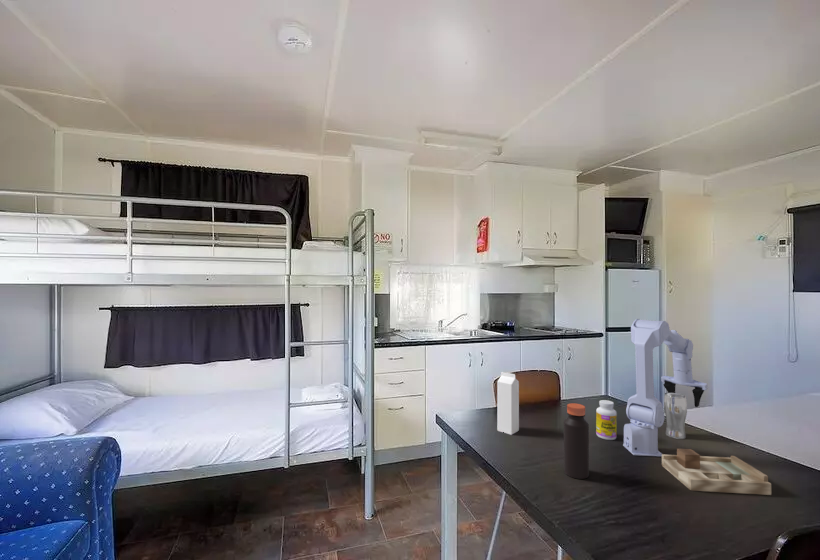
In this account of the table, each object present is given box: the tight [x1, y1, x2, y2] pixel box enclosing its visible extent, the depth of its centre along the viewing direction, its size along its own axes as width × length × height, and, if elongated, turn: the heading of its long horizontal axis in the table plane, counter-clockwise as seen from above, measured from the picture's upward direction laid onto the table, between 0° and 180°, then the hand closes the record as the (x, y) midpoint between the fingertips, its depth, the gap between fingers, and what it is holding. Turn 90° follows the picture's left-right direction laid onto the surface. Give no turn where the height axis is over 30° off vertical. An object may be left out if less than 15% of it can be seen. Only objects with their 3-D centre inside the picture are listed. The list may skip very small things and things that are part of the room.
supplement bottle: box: [595, 399, 618, 441], centre depth 138 cm, size 7×7×13 cm
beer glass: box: [663, 392, 688, 440], centre depth 139 cm, size 7×7×15 cm
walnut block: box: [676, 448, 701, 469], centre depth 111 cm, size 4×4×4 cm
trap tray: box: [661, 453, 772, 496], centre depth 108 cm, size 20×14×4 cm
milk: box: [496, 371, 520, 436], centre depth 143 cm, size 6×6×22 cm
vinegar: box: [563, 402, 590, 480], centre depth 111 cm, size 7×7×20 cm
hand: (685, 403), depth 144 cm, fingers open, 7 cm apart
